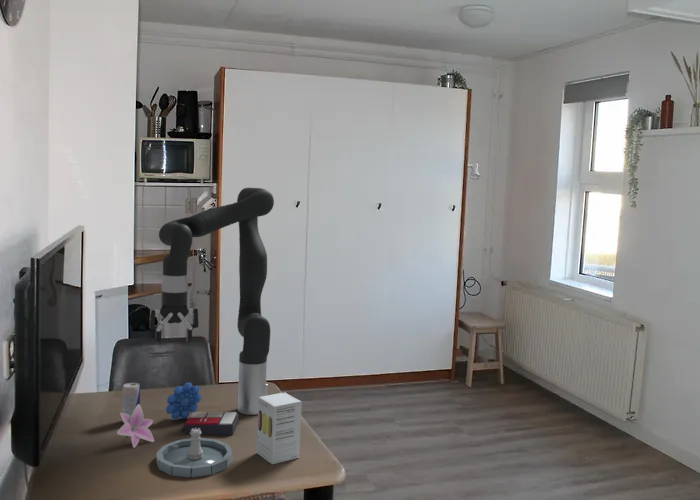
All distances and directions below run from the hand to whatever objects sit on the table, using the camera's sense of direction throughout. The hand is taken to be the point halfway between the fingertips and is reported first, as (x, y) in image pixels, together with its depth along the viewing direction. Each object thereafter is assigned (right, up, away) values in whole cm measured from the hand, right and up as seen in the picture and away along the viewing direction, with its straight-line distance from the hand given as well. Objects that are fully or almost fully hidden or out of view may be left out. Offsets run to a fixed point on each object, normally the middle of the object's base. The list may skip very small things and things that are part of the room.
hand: (173, 342), depth 202 cm
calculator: (+10, -29, +8) cm, 31 cm away
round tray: (+10, -31, -17) cm, 36 cm away
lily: (-10, -29, -6) cm, 31 cm away
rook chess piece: (+10, -30, -17) cm, 36 cm away
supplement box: (+33, -31, -11) cm, 46 cm away
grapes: (-1, -27, +15) cm, 31 cm away
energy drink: (-16, -27, +10) cm, 33 cm away
